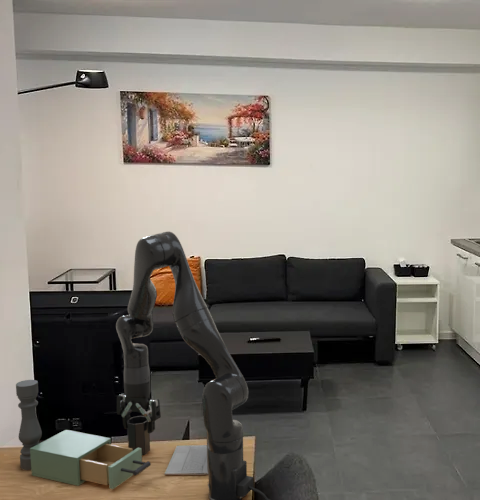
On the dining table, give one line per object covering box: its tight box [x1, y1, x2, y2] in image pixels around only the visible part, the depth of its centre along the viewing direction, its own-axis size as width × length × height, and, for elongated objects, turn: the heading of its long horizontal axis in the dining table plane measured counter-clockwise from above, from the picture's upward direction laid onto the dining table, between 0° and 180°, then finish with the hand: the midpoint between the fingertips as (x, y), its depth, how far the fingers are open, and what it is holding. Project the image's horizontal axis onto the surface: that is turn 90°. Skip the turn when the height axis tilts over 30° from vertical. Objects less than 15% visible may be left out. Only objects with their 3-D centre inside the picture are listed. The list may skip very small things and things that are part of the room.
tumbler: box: [126, 415, 151, 457], centre depth 198 cm, size 6×6×10 cm
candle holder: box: [15, 379, 43, 471], centre depth 188 cm, size 6×6×25 cm
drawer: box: [79, 443, 152, 490], centre depth 182 cm, size 21×12×6 cm, turn 70°
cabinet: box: [30, 429, 112, 487], centre depth 187 cm, size 17×14×8 cm
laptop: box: [164, 433, 208, 476], centre depth 193 cm, size 18×12×13 cm
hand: (139, 430), depth 198 cm, fingers open, 8 cm apart
